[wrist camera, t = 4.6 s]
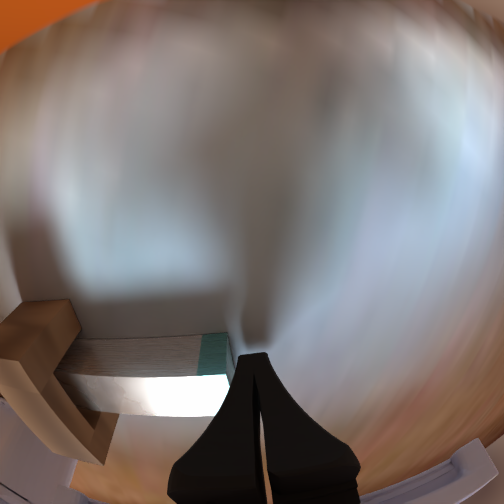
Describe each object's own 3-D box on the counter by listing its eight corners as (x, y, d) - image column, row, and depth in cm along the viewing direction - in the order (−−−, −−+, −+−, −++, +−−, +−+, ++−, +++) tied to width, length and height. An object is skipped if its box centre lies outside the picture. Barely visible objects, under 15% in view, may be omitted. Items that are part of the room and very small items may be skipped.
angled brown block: (76, 399, 15) (52, 452, 10) (21, 302, 12) (-26, 352, 7) (122, 404, 15) (103, 465, 10) (69, 299, 12) (18, 361, 7)
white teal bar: (78, 373, 14) (61, 405, 11) (58, 338, 13) (37, 369, 10) (235, 373, 14) (236, 414, 11) (227, 332, 13) (226, 374, 10)
